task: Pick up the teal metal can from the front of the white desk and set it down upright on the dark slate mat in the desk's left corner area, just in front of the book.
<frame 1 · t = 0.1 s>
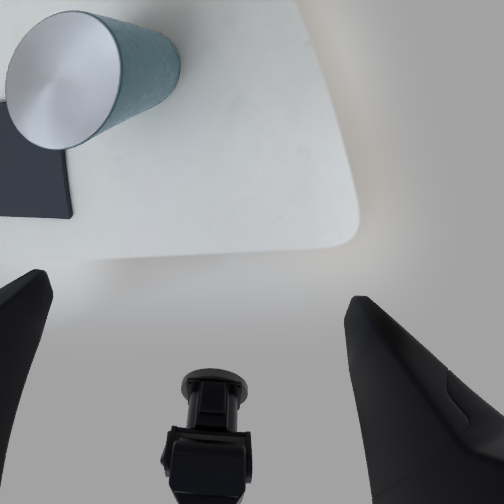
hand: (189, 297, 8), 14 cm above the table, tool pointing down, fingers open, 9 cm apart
can: (138, 70, 17), on the table
mat: (18, 159, 20), on the table
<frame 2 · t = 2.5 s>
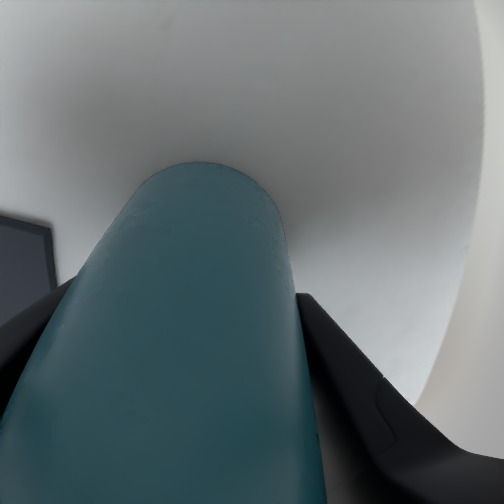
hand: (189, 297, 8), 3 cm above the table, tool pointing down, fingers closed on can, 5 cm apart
can: (201, 239, 11), on the table, touching gripper
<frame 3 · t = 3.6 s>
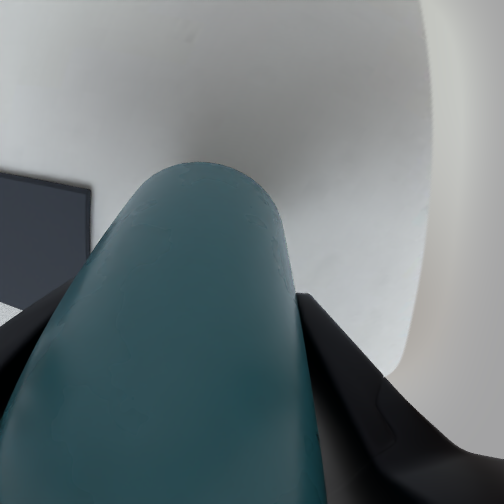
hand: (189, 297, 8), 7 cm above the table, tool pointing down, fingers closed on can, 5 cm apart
can: (201, 239, 11), point 4 cm above the table, touching gripper
mat: (23, 250, 16), on the table
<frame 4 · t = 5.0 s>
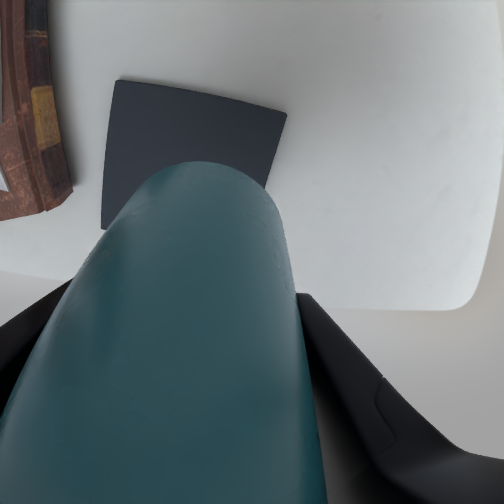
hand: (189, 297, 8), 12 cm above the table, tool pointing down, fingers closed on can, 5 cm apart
can: (201, 238, 11), point 9 cm above the table, touching gripper
mat: (182, 171, 19), on the table
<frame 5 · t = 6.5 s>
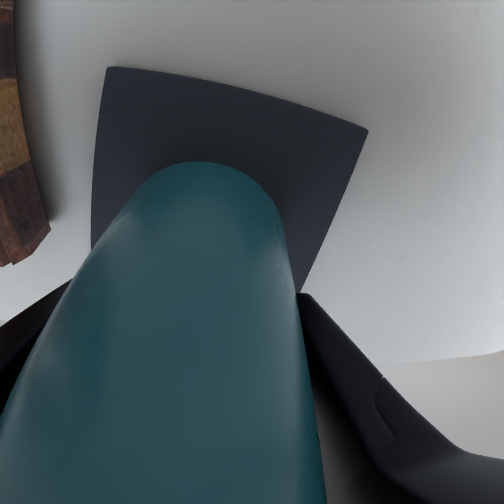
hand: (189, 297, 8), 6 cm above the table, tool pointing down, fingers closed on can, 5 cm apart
can: (201, 238, 11), point 3 cm above the table, touching gripper
mat: (208, 206, 13), on the table
when the fingers open (4 cm above the table, at t = 7.6 s): can stays where it is, resting on mat.
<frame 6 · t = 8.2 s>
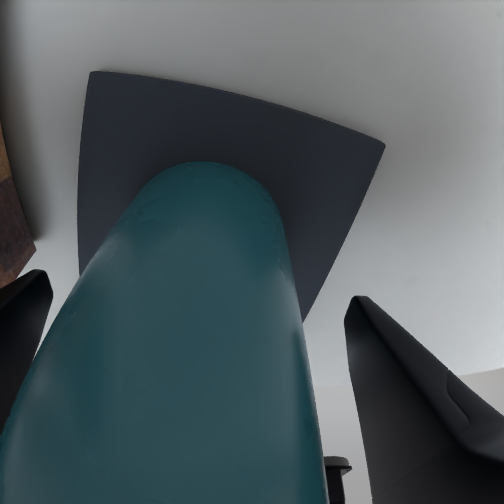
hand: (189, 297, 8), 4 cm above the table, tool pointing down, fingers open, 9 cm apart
can: (204, 236, 11), point 1 cm above the table, touching mat
mat: (205, 227, 12), on the table
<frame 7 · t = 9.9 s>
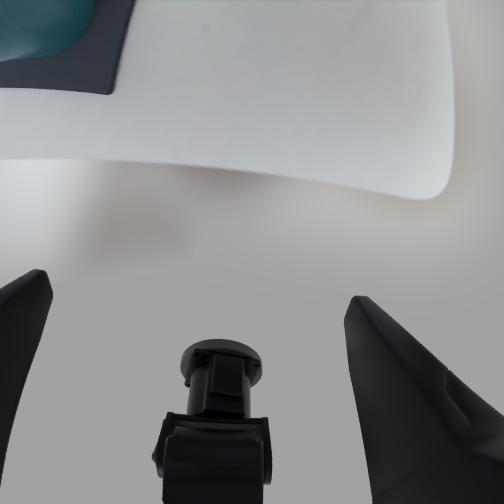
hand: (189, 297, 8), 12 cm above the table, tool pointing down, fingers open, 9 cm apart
can: (55, 13, 12), point 1 cm above the table, touching mat
mat: (60, 14, 12), on the table
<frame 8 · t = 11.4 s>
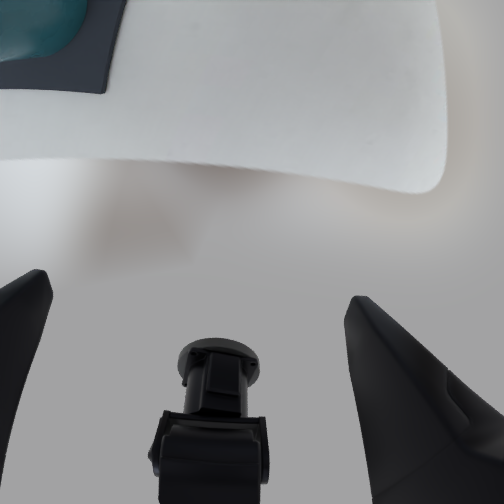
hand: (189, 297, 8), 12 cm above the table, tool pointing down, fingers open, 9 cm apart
can: (49, 16, 12), point 1 cm above the table, touching mat
mat: (54, 16, 12), on the table
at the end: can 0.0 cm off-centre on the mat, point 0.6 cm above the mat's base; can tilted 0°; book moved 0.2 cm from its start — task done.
